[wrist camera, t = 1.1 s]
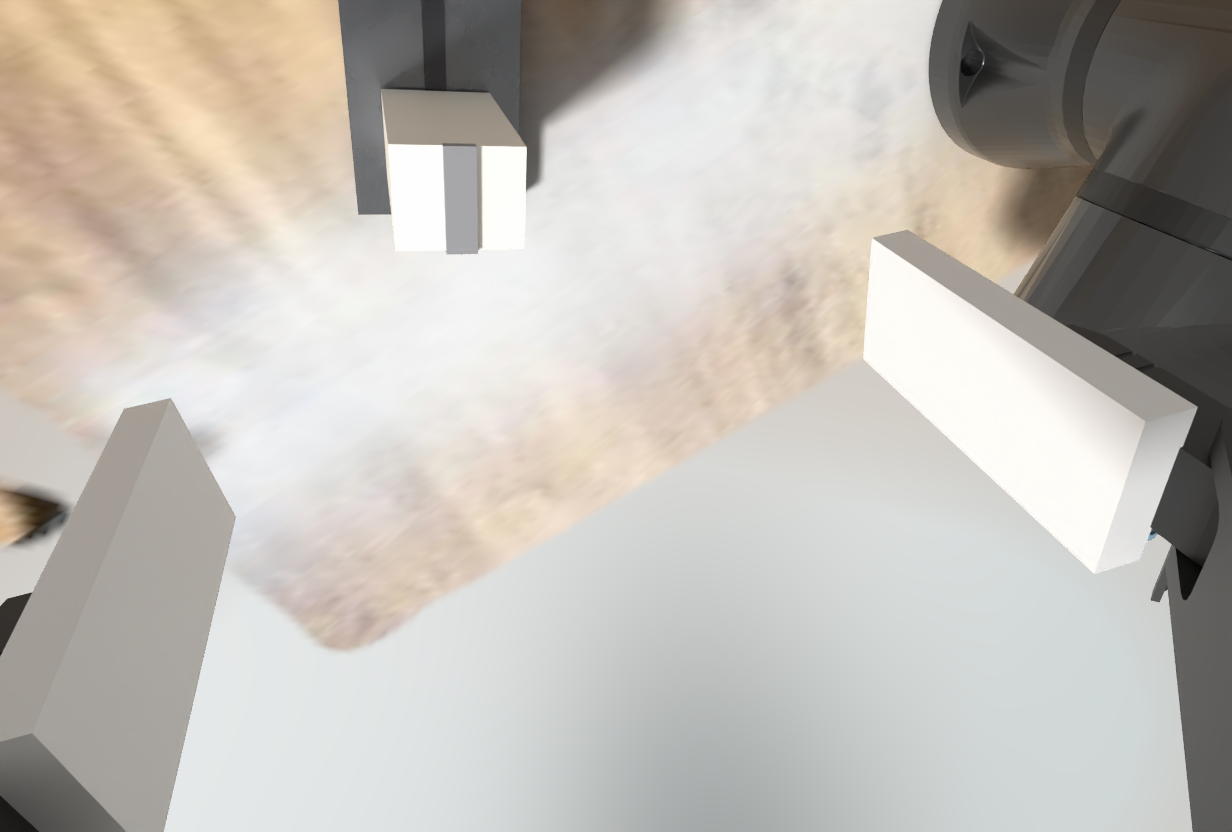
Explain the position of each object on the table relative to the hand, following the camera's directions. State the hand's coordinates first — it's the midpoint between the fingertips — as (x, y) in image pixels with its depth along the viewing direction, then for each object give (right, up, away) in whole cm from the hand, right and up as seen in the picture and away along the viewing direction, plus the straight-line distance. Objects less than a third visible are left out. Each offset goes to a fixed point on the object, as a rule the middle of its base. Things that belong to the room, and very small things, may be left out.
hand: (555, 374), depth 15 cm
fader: (-7, +13, +23) cm, 27 cm away
